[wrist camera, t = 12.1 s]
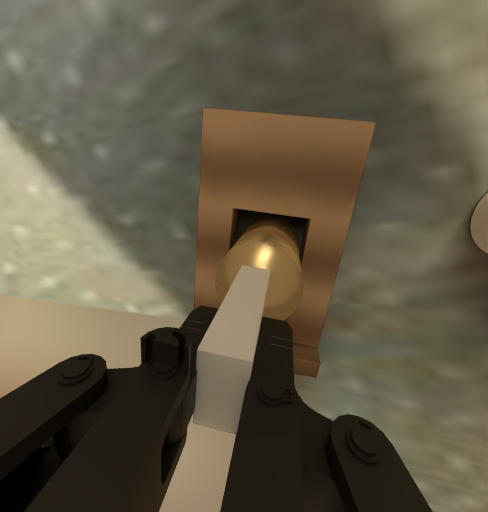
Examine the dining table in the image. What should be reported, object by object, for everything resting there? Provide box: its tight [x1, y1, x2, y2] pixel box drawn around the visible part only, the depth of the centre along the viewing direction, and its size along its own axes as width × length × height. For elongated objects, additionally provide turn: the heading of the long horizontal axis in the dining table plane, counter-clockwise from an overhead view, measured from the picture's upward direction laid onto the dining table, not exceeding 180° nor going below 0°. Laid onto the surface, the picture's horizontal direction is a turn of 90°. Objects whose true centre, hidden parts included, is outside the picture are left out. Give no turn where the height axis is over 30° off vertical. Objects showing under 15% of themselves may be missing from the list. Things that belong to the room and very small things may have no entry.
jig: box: [194, 108, 376, 378], centre depth 20 cm, size 20×12×5 cm, turn 173°
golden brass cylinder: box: [215, 216, 304, 320], centre depth 18 cm, size 5×5×10 cm
